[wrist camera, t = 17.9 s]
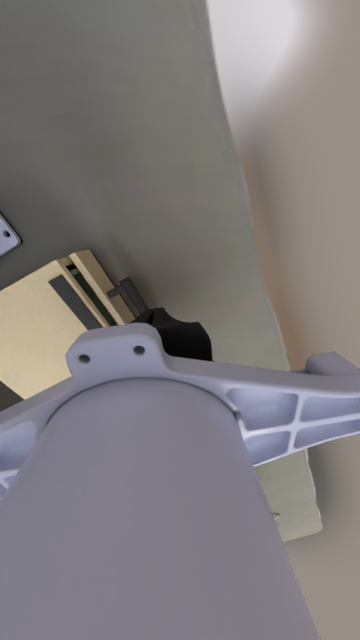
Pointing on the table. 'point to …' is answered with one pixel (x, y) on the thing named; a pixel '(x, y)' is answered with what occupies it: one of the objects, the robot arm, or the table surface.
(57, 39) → the table surface
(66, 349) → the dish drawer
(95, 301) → the wooden drawer
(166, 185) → the table surface
